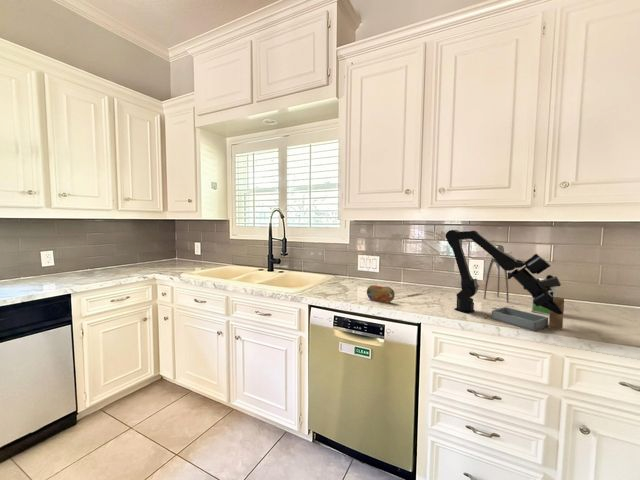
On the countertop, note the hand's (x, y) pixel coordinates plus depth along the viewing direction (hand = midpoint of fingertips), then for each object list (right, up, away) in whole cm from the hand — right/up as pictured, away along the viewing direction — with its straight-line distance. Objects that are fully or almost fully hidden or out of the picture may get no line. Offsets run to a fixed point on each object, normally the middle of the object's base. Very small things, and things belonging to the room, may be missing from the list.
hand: (561, 312), depth 109 cm
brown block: (-1, -7, +1) cm, 7 cm away
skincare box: (+9, -5, +20) cm, 23 cm away
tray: (-11, -6, +7) cm, 15 cm away
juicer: (+2, -4, +40) cm, 40 cm away
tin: (-63, -4, +38) cm, 74 cm away
